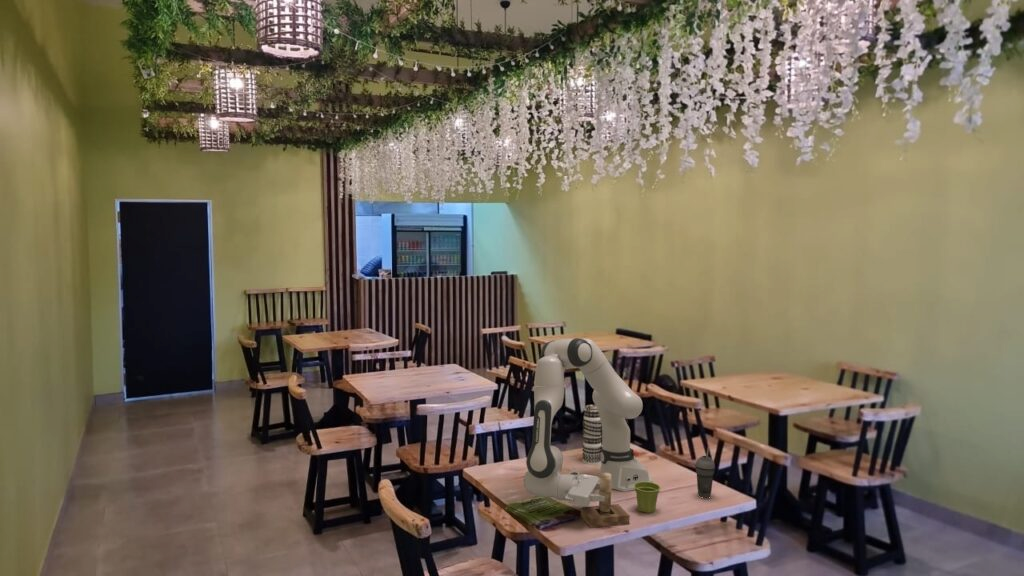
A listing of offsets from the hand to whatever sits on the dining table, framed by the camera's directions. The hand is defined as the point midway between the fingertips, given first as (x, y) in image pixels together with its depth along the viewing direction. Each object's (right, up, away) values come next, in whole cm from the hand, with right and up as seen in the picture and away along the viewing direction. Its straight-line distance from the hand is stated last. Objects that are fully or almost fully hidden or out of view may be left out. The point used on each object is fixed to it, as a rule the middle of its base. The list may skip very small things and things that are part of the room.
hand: (607, 493), depth 220 cm
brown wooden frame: (-1, -9, +1) cm, 10 cm away
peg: (-1, -9, +1) cm, 10 cm away
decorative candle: (+2, -6, +62) cm, 62 cm away
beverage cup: (+40, -9, +23) cm, 47 cm away
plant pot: (+16, -9, +10) cm, 21 cm away
